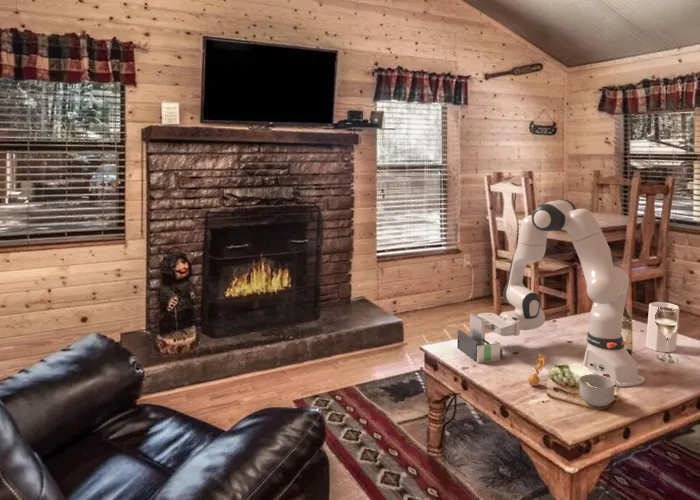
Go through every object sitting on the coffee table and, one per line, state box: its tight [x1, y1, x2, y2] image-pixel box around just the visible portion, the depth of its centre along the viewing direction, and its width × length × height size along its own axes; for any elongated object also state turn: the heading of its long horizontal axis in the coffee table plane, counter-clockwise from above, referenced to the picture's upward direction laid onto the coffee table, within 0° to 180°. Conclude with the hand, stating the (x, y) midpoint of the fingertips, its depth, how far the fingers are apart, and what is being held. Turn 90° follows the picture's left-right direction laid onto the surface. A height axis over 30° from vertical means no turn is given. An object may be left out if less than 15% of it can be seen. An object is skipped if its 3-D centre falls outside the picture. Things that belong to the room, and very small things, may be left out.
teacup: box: [578, 373, 616, 408], centre depth 175 cm, size 14×11×8 cm
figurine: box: [527, 353, 547, 387], centre depth 187 cm, size 8×6×12 cm
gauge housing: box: [457, 329, 503, 364], centre depth 218 cm, size 18×12×8 cm
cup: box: [645, 301, 680, 353], centre depth 218 cm, size 11×11×18 cm
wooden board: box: [468, 312, 490, 346], centre depth 215 cm, size 14×2×14 cm, turn 16°
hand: (478, 325), depth 217 cm, fingers closed, pressing on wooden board
